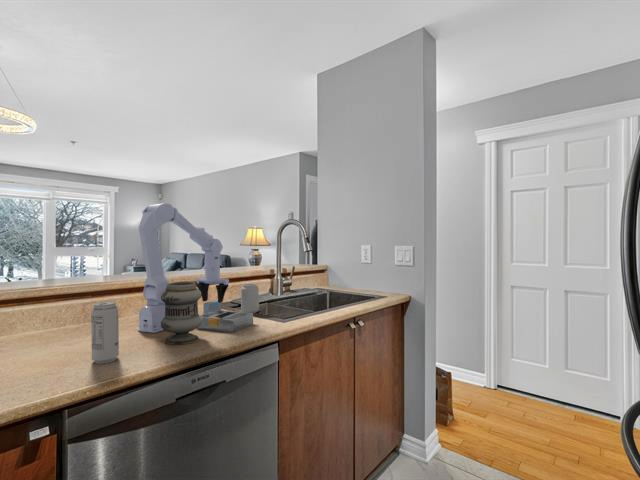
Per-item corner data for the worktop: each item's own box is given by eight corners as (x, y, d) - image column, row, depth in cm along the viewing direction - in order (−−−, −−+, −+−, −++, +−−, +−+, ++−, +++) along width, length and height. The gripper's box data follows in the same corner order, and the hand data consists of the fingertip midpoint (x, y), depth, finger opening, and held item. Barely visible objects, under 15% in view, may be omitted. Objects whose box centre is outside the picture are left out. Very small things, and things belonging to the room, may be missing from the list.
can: (260, 313, 146) (260, 284, 146) (242, 314, 143) (242, 285, 143) (257, 309, 153) (256, 282, 153) (239, 311, 150) (239, 283, 150)
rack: (232, 332, 116) (232, 320, 116) (194, 328, 122) (194, 316, 122) (253, 323, 128) (253, 312, 128) (217, 320, 134) (217, 309, 134)
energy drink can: (122, 359, 91) (121, 303, 91) (96, 366, 86) (95, 306, 86) (114, 354, 95) (113, 300, 95) (88, 360, 90) (88, 303, 90)
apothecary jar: (157, 347, 101) (156, 286, 101) (164, 336, 112) (163, 281, 112) (201, 344, 104) (200, 284, 104) (203, 333, 116) (203, 279, 115)
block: (208, 319, 136) (208, 303, 136) (203, 318, 137) (203, 303, 137) (221, 314, 144) (221, 300, 144) (216, 314, 145) (216, 299, 145)
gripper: (233, 267, 141) (233, 300, 142) (204, 266, 147) (204, 298, 147) (222, 269, 135) (222, 304, 135) (192, 268, 140) (193, 301, 140)
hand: (212, 301), depth 140 cm, fingers open, 7 cm apart
